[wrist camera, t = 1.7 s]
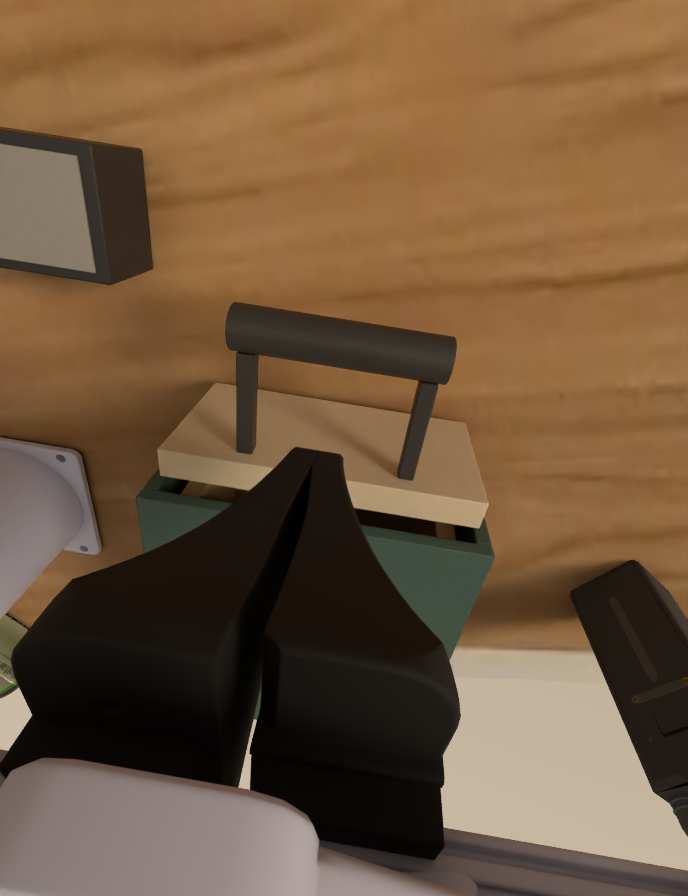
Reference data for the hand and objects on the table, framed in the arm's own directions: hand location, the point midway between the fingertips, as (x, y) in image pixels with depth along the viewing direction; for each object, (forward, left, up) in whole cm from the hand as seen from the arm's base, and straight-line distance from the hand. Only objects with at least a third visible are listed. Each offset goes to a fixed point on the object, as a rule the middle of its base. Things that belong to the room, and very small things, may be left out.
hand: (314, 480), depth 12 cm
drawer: (0, -6, -9) cm, 11 cm away
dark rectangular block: (-13, +5, -10) cm, 17 cm away
